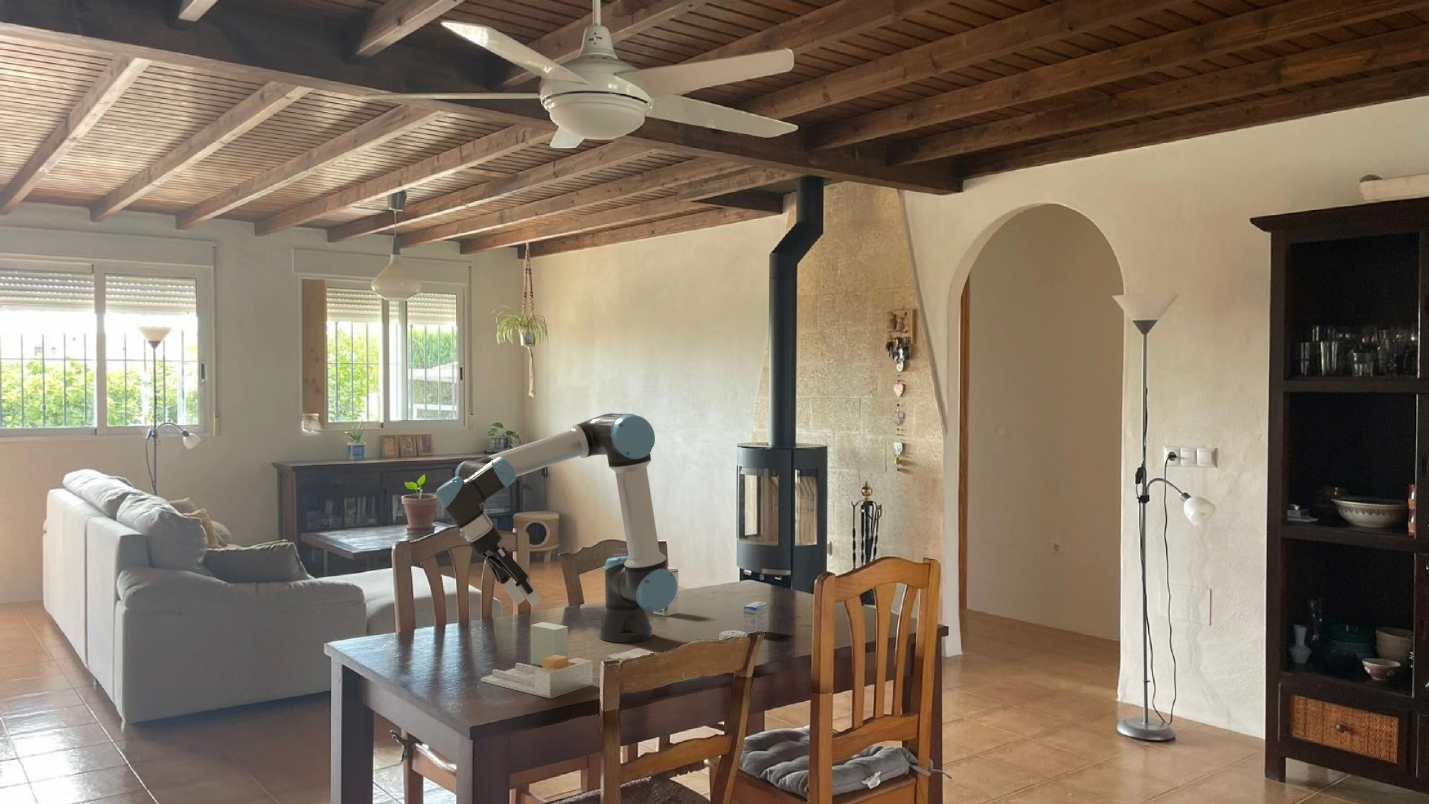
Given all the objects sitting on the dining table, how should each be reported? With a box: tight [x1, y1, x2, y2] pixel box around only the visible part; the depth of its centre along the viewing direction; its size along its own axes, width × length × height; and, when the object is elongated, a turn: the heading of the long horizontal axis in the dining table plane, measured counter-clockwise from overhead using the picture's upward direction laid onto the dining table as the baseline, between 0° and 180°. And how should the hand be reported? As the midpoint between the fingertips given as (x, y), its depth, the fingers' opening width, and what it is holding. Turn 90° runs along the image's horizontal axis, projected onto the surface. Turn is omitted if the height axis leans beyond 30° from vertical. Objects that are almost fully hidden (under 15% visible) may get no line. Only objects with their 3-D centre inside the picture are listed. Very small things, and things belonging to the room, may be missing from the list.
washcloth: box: [607, 647, 655, 660], centre depth 272 cm, size 12×18×3 cm, turn 48°
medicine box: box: [743, 601, 770, 634], centre depth 305 cm, size 8×4×9 cm, turn 152°
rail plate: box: [480, 657, 594, 700], centre depth 256 cm, size 14×24×6 cm, turn 53°
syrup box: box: [653, 566, 679, 617], centre depth 332 cm, size 6×6×14 cm
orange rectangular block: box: [541, 655, 569, 669], centre depth 252 cm, size 5×4×6 cm
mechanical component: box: [718, 629, 747, 641], centre depth 289 cm, size 10×4×10 cm
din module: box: [530, 621, 569, 667], centre depth 273 cm, size 4×9×10 cm, turn 53°
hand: (529, 602), depth 266 cm, fingers open, 13 cm apart
